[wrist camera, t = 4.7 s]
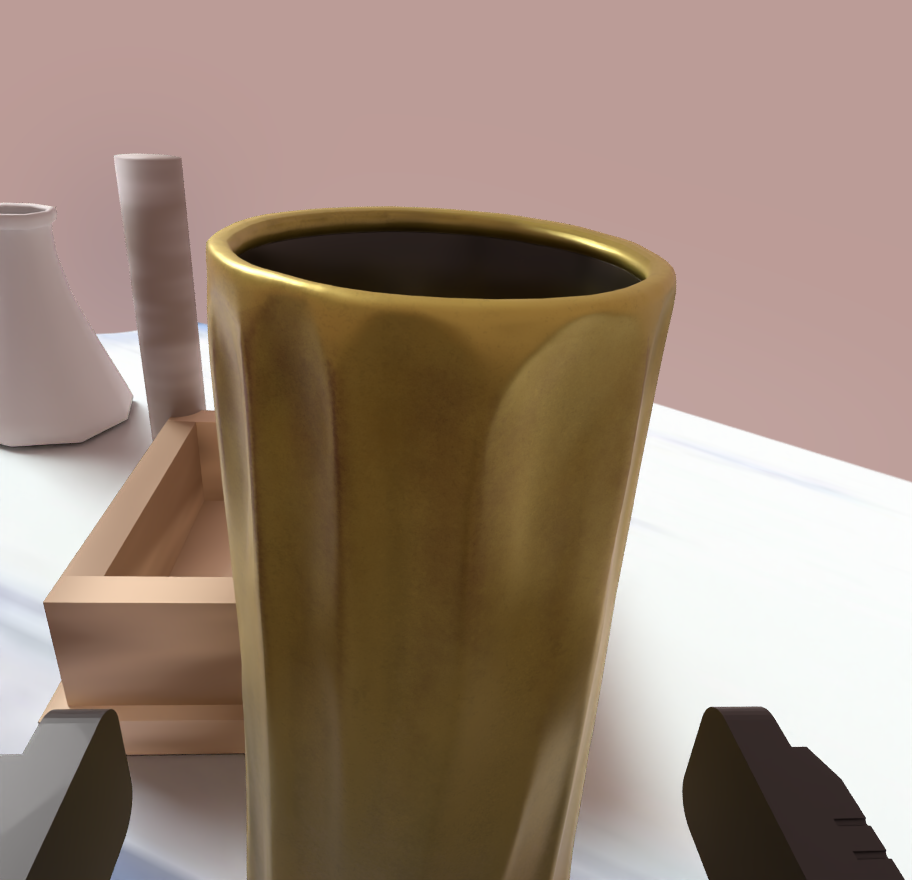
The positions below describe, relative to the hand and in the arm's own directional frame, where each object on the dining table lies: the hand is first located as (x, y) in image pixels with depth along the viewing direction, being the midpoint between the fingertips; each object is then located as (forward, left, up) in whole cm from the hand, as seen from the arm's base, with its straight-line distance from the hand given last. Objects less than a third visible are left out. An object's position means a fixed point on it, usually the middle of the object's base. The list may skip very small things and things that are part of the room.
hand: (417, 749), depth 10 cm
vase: (0, +1, -8) cm, 8 cm away
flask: (-17, +26, -8) cm, 32 cm away
